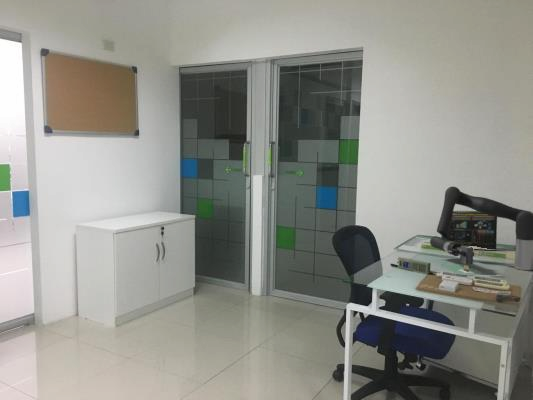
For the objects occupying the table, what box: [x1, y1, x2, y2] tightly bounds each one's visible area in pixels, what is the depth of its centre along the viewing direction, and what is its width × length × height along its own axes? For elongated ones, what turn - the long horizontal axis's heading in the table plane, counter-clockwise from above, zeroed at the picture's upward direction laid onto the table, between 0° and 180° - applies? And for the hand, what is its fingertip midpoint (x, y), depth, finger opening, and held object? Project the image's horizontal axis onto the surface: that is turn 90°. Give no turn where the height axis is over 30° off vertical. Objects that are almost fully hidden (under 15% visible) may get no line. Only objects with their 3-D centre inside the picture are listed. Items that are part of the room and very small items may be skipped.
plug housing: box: [459, 246, 474, 265], centre depth 252 cm, size 6×4×9 cm, turn 7°
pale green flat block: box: [440, 263, 483, 277], centre depth 258 cm, size 22×14×5 cm, turn 7°
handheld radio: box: [390, 256, 431, 275], centre depth 260 cm, size 7×3×25 cm
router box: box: [448, 210, 498, 250], centre depth 322 cm, size 36×11×27 cm, turn 81°
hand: (469, 254), depth 249 cm, fingers closed on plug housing, 3 cm apart
